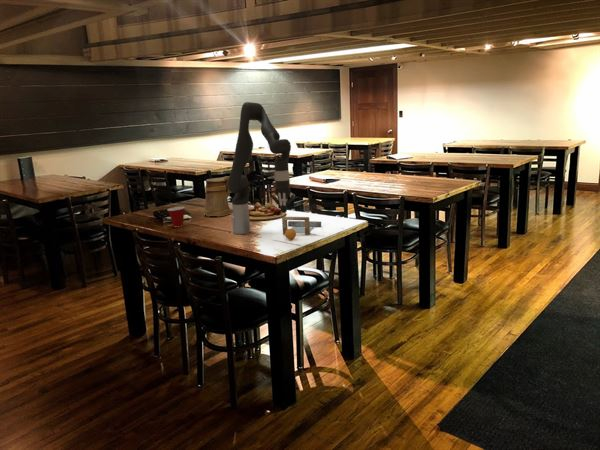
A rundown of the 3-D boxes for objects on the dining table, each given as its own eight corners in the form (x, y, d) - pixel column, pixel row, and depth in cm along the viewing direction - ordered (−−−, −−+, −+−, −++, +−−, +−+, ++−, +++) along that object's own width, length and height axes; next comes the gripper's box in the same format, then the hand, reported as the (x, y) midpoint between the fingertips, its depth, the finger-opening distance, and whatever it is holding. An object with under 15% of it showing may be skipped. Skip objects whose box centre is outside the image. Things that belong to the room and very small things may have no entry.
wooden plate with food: (242, 224, 313) (241, 211, 311) (234, 214, 343) (234, 202, 341) (291, 220, 321) (291, 207, 319) (280, 210, 351) (279, 198, 349)
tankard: (198, 216, 341) (194, 180, 335) (221, 209, 359) (218, 175, 354) (218, 218, 331) (214, 181, 325) (241, 211, 350) (238, 176, 344)
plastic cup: (175, 224, 320) (173, 205, 318) (190, 224, 317) (188, 206, 314) (165, 228, 311) (163, 209, 308) (180, 228, 307) (178, 209, 304)
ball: (283, 240, 268) (283, 229, 267) (287, 237, 274) (286, 227, 273) (294, 241, 267) (294, 230, 265) (297, 238, 272) (297, 227, 271)
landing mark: (286, 232, 285) (286, 232, 285) (293, 227, 297) (293, 227, 297) (308, 233, 281) (308, 233, 281) (314, 227, 293) (314, 227, 293)
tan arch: (308, 235, 277) (307, 218, 275) (282, 234, 281) (281, 217, 279) (310, 233, 280) (309, 217, 278) (284, 233, 284) (283, 216, 282)
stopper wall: (288, 226, 299) (287, 221, 298) (289, 225, 301) (288, 220, 300) (320, 227, 294) (320, 222, 293) (321, 226, 296) (321, 221, 295)
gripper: (296, 178, 255) (298, 211, 259) (272, 178, 259) (274, 210, 263) (292, 180, 248) (294, 214, 252) (267, 180, 252) (269, 213, 256)
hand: (283, 212), depth 257 cm, fingers closed
